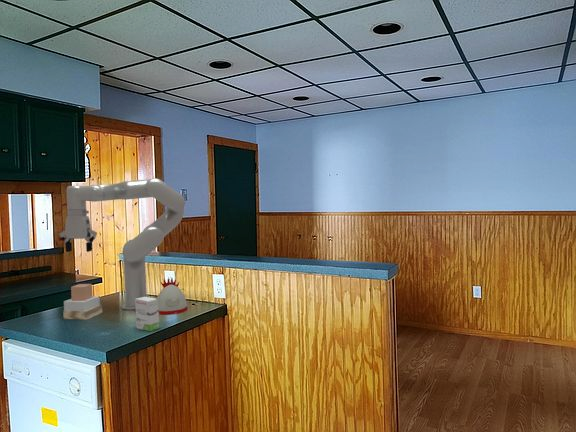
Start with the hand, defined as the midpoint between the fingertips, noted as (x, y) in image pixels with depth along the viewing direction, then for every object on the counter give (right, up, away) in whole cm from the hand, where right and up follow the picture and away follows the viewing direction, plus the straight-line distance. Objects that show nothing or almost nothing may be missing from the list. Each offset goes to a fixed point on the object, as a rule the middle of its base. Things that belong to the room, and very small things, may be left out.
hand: (79, 251), depth 188 cm
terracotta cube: (+4, -21, -4) cm, 21 cm away
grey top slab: (+3, -25, -4) cm, 25 cm away
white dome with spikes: (+41, -27, +1) cm, 49 cm away
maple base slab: (+4, -28, -3) cm, 29 cm away
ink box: (+39, -28, -24) cm, 54 cm away
